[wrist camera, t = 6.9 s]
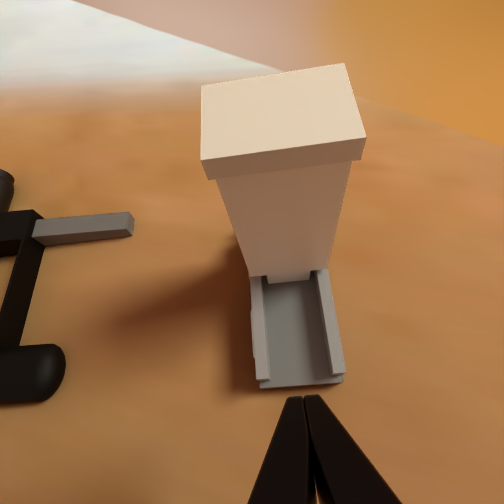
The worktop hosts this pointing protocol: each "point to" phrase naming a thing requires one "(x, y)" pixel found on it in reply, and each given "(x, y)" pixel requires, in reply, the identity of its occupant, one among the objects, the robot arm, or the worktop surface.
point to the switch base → (295, 332)
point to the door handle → (22, 285)
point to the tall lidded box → (282, 163)
